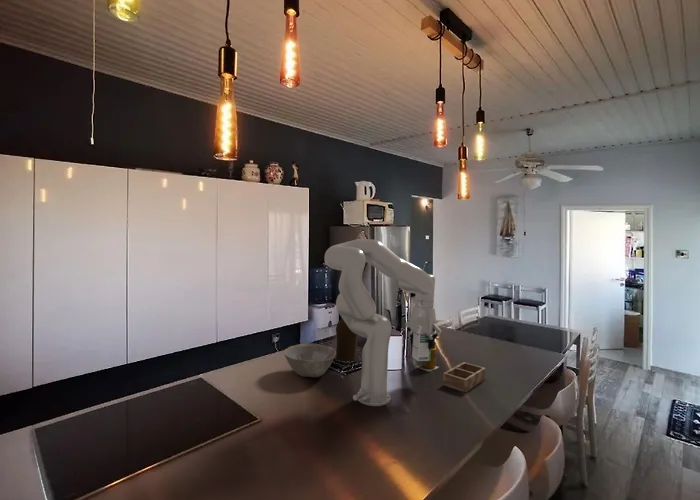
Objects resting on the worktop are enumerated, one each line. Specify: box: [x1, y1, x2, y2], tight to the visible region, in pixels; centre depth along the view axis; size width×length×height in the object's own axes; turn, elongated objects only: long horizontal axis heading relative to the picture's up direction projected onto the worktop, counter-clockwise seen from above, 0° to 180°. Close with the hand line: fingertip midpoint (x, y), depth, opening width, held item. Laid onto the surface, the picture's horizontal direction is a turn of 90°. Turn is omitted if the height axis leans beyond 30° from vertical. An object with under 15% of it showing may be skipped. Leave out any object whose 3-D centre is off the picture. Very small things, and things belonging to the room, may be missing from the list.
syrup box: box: [411, 325, 432, 362], centre depth 157 cm, size 6×6×14 cm
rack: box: [442, 361, 487, 393], centre depth 159 cm, size 19×10×5 cm, turn 138°
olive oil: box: [335, 318, 359, 361], centre depth 180 cm, size 11×11×25 cm
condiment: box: [415, 341, 440, 372], centre depth 175 cm, size 7×8×12 cm
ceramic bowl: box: [283, 343, 336, 378], centre depth 162 cm, size 22×23×10 cm
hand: (421, 345), depth 157 cm, fingers closed on syrup box, 7 cm apart
